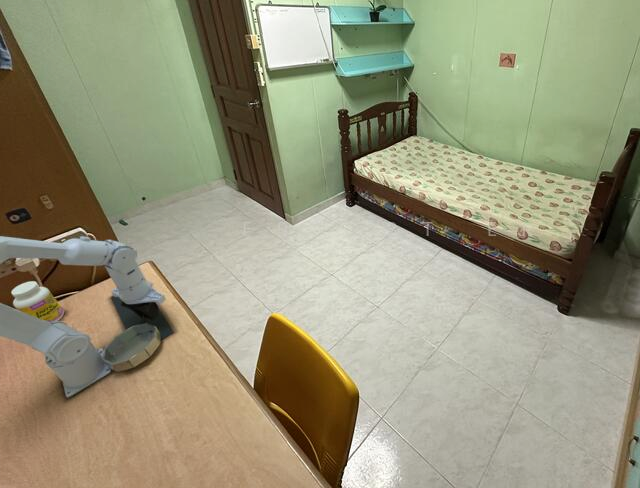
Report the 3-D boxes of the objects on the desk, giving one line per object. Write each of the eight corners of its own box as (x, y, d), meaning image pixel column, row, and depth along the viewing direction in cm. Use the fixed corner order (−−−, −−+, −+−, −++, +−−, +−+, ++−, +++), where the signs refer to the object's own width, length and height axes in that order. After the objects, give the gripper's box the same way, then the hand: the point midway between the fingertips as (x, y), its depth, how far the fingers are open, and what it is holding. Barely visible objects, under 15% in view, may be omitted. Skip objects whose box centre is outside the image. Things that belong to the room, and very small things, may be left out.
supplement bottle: (44, 332, 85) (17, 299, 79) (25, 327, 87) (-3, 295, 80) (71, 312, 91) (48, 280, 85) (53, 308, 92) (29, 276, 86)
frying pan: (138, 315, 91) (130, 304, 89) (180, 305, 93) (174, 294, 91) (102, 380, 75) (91, 369, 73) (154, 366, 77) (146, 355, 75)
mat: (111, 297, 96) (110, 297, 96) (143, 282, 102) (143, 281, 102) (137, 354, 80) (136, 353, 80) (173, 332, 86) (173, 332, 86)
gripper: (167, 274, 83) (183, 308, 90) (121, 266, 86) (140, 300, 92) (143, 294, 77) (163, 329, 84) (95, 285, 80) (118, 320, 86)
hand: (150, 316), depth 88 cm, fingers closed on frying pan, 2 cm apart
